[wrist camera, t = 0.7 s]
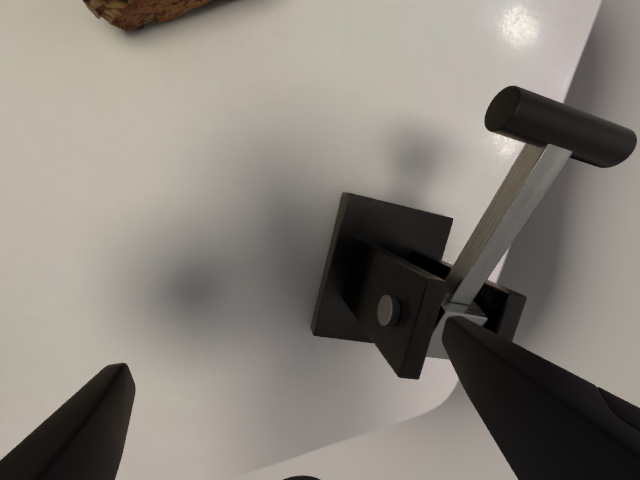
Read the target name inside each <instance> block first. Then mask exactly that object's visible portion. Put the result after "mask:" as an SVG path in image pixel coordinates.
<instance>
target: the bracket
mask: <svg viewBox="0 0 640 480" xmlns="http://www.w3.org/2000/svg"><path fill="white" fill-rule="evenodd" d="M452 222H453V218H450V217H446V216H441V215H437V214H433V213H429V212H425V211H421V210H417V209H413V208H409V207H404V206H400V205H396V204H392V203H388V202H384V201H380V200H376V199H372V198H367V197H363V196H359V195H355V194H351V193H345V192H344V193H343V195H342V199H341V203H340V207H339V211H338V216H337V220H336V224H335V228H334V232H333V236H332V240H331V245H330V249H329V253H328V257H327V261H326V265H325V270H324V274H323V278H322V282H321V286H320V290H319V295H318V299H317V303H316V307H315V311H314V315H313V320H312V324H311V330H312V333H313V335H314V336H320V337H328V338H336V339H344V340H352V341H360V342H368V343H374V344H375V345H376V347H377V348H378V349H379V351H380V352H381V354H382V355H383V356H384V358H385V359H386V360H387V362H388V363H389V365H390V366H391V367H392V369H393V370H394V372H395V373H396V374H397V376H398V377H400V378H408V379H419V377H420V374H421V371H422V367H423V364H424V361H425V357H426V354H427V351H428V347H429V344H430V341H431V337H432V334H433V331H434V327H435V324H436V321H437V317H438V314H439V311H440V307H441V304H442V301H443V297H444V294H445V291H446V287H447V282H446V281H445V279H446V277H447V275H448V274H449V272H450V270H451V269H452V267H453V265H451V264H449V263H446V262H444V261H442V256H443V253H444V250H445V246H446V243H447V239H448V236H449V233H450V229H451V226H452ZM526 299H527V297H525V296H524V295H521V294H519V293H517V292H514V291H512V290H510V289H507V288H505V287H503V286H500V285H498V284H496V283H493V282H491V281H489V280H486V282H485V283H484V285H483V286H482V288H481V289H480V291H479V292H478V294H477V295H476V297H475V298H474V301H475V303H476V304H477V305H478V306H479V308H480V309H481V310H482V311H483V313H484V314H485V315H486V316H487V318H488V320H487V321H486V322H485V324H484V325H483V326H482V327H484V328H486V329H488V330H490V331H492V332H494V333H495V334H497V335H499V336H501V337H503V338H505V339H507V340H509V341H511V342H512V341H513V337H514V335H515V331H516V329H517V326H518V323H519V320H520V317H521V314H522V311H523V308H524V305H525V302H526Z"/></svg>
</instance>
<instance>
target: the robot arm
mask: <svg viewBox="0 0 640 480" xmlns="http://www.w3.org/2000/svg"><path fill="white" fill-rule="evenodd" d="M442 344H443V346H444V348H445V350H446V352H447V355H448V357H449V359H450V361H451V363H452V365H453V367H454V369H455V371H456V373H457V375H458V377H459V380H460V382H461V384H462V385H463V388H464V389H465V391H466V393H467V395H468V397H469V398H470V400H471V402H472V403H473V405H474V407H475V408H476V410H477V412H478V413H479V415H480V417H481V418H482V420H483V422H484V423H485V425H486V427H487V428H488V430H489V432H490V433H491V435H492V437H493V438H494V440H495V442H496V443H497V445H498V447H499V448H500V450H501V452H502V453H503V455H504V456H505V458H506V460H507V462H508V463H509V465H510V467H511V468H512V470H513V472H514V473H515V475H516V476H517V478H518V480H640V408H638V407H637V406H635V405H632V404H631V403H629V402H627V401H625V400H623V399H621V398H619V397H617V396H615V395H613V394H611V393H609V392H607V391H605V390H604V389H602V388H600V387H596V386H595V385H594V384H592V383H590V382H588V381H586V380H584V379H582V378H580V377H578V376H576V375H574V374H573V373H571V372H569V371H567V370H565V369H563V368H561V367H559V366H557V365H555V364H553V363H551V362H549V361H547V360H545V359H543V358H542V357H540V356H538V355H536V354H534V353H532V352H530V351H528V350H526V349H524V348H522V347H521V346H519V345H517V344H515V343H513V342H511V341H509V340H507V339H505V338H503V337H501V336H499V335H497V334H495V333H494V332H492V331H490V330H488V329H486V328H484V327H482V326H480V325H478V324H476V323H474V322H472V321H470V320H469V319H467V318H465V317H463V316H451V317H448V318H447V319H446V321H445V325H444V329H443V333H442ZM134 397H135V383H134V380H133V378H132V375H131V372H130V370H129V367H128V365H127V364H126V363H118V364H111V365H108V366H106V367H105V368H103V369H102V370H101V371H100V372H99V373H98V374H97V375H95V376H94V377H93V378H92V379H91V380H90V381H89V382H88V383H87V384H85V385H84V386H83V387H82V388H81V389H80V390H79V391H78V392H76V393H75V394H74V395H73V396H72V397H71V398H70V399H69V400H68V401H66V402H65V403H64V404H63V405H62V406H61V407H60V408H59V409H58V410H56V411H55V412H54V413H53V414H52V415H51V416H50V417H49V418H47V419H46V420H45V421H44V422H43V423H42V424H41V425H40V426H39V427H37V428H36V429H35V430H34V431H33V432H32V433H31V434H30V435H28V436H27V437H26V438H25V439H24V440H23V441H22V442H21V443H20V444H18V445H17V446H16V447H15V448H14V449H13V450H12V451H11V452H9V453H8V454H7V455H6V456H5V457H4V458H3V459H2V460H1V461H0V480H115V477H116V474H117V471H118V468H119V464H120V461H121V457H122V453H123V449H124V444H125V440H126V435H127V430H128V425H129V421H130V416H131V411H132V406H133V402H134Z"/></svg>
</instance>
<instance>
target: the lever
mask: <svg viewBox="0 0 640 480" xmlns="http://www.w3.org/2000/svg"><path fill="white" fill-rule="evenodd" d="M485 127H486V128H487V130H489V131H491V132H494V133H497V134H500V135H503V136H506V137H509V138H512V139H515V140H518V141H521V142H524V143H526V144H525V146H524V147H523V149H522V151H521V152H520V154H519V156H518V157H517V159H516V161H515V162H514V164H513V166H512V168H511V169H510V171H509V173H508V174H507V176H506V178H505V179H504V181H503V183H502V184H501V186H500V188H499V189H498V191H497V193H496V194H495V196H494V198H493V200H492V201H491V203H490V205H489V206H488V208H487V210H486V211H485V213H484V215H483V216H482V218H481V220H480V221H479V223H478V225H477V226H476V228H475V230H474V232H473V233H472V235H471V237H470V238H469V240H468V242H467V243H466V245H465V247H464V248H463V250H462V252H461V253H460V255H459V257H458V258H457V260H456V262H455V264H454V265H453V267H452V269H451V270H450V272H449V274H448V275H447V277H446V279H445V281H446V282H447V287H446V291H445V294H444V297H443V301H442V304H441V307H440V311H439V314H438V317H437V321H436V324H435V327H434V331H433V334H432V337H431V341H430V344H429V347H428V351H427V354H426V357H432V358H441V359H449V357H448V355H447V352H446V350H445V348H444V346H443V344H442V333H443V329H444V325H445V321H446V319H447V318H448V317H451V316H463V317H465V318H467V319H469V320H470V321H472V322H474V323H476V324H478V325H480V326H483V325H484V324H485V322H486V321H487V320H488V318H487V316H486V315H485V314H484V313H483V311H482V310H481V309H480V308H479V306H478V305H477V304H476V303H475V301H474V298H475V297H476V295H477V294H478V292H479V291H480V289H481V288H482V286H483V285H484V283H485V282H486V280H487V279H488V277H489V276H490V274H491V273H492V271H493V270H494V268H495V267H496V265H497V264H498V262H499V261H500V259H501V258H502V257H503V255H504V254H505V252H506V251H507V249H508V248H509V246H510V245H511V243H512V242H513V240H514V239H515V237H516V236H517V234H518V233H519V231H520V230H521V228H522V227H523V225H524V224H525V222H526V221H527V219H528V218H529V216H530V215H531V213H532V212H533V210H534V209H535V208H536V206H537V205H538V203H539V201H540V200H541V199H542V197H543V196H544V194H545V193H546V191H547V190H548V188H549V187H550V185H551V184H552V182H553V181H554V179H555V178H556V176H557V175H558V173H559V172H560V170H561V169H562V167H563V166H564V164H565V163H566V161H567V160H568V159H569V158H572V159H576V160H579V161H582V162H585V163H588V164H591V165H594V166H597V167H600V168H608V167H612V166H615V165H618V164H619V163H621V162H623V161H624V160H626V159H627V158H628V157H629V156H630V155H631V154H632V152H633V151H634V149H635V147H636V143H637V138H636V135H635V133H634V132H633V131H632V130H630V129H628V128H626V127H623V126H620V125H618V124H615V123H612V122H610V121H607V120H604V119H602V118H599V117H596V116H594V115H591V114H589V113H586V112H583V111H581V110H578V109H575V108H573V107H570V106H568V105H565V104H562V103H560V102H557V101H554V100H552V99H549V98H546V97H544V96H541V95H539V94H536V93H533V92H531V91H528V90H525V89H523V88H520V87H517V86H509V87H506V88H504V89H503V90H501V91H500V92H499V93H498V94H497V95H496V96H495V97H494V99H493V100H492V101H491V103H490V105H489V107H488V109H487V111H486V114H485ZM449 360H450V359H449Z"/></svg>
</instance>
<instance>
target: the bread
mask: <svg viewBox="0 0 640 480" xmlns="http://www.w3.org/2000/svg"><path fill="white" fill-rule="evenodd" d="M83 1H84V3H85V4H86V6H87V7H88V9H89V10H90V11H91V12H92V13H93V14H94V15H95V16H96V17H97V18H98V19H99V18H100V17H101V16H102V17H103V18H104V19H106V20H107V21H108V22H109V23H110V24H111V25H114V26H116V27H118V28H120V29H122V30H125V31H129V30H137V29H141V28H143V27H144V26H145V25H146V24H147V23H148V22H150V21H152V22H157V23H158V22H166V21H172V20H174V19H176V18H178V17H180V16H182V15H183V14H185V13H186V12H187V11H189V10H190V9H191V8H199V7H201V6H203V5H205V4H207V3H209V2H210V1H213V0H83Z"/></svg>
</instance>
